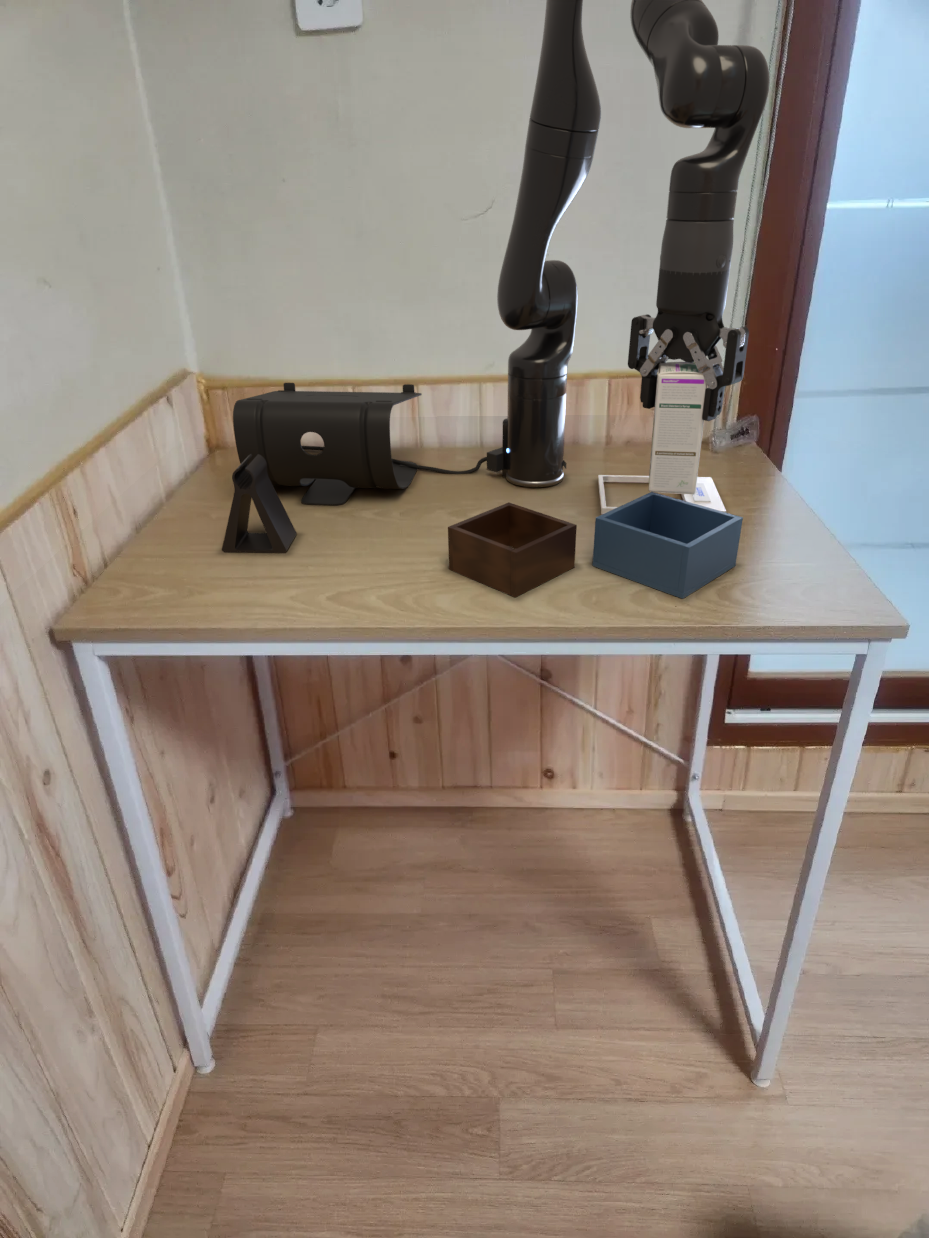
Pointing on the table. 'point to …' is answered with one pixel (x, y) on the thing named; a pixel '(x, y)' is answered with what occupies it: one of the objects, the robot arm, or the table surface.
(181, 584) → the table surface
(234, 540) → the phone stand
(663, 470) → the syrup box
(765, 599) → the table surface
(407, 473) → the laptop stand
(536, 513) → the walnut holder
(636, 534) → the blue tote
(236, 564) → the table surface
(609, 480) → the photo frame
